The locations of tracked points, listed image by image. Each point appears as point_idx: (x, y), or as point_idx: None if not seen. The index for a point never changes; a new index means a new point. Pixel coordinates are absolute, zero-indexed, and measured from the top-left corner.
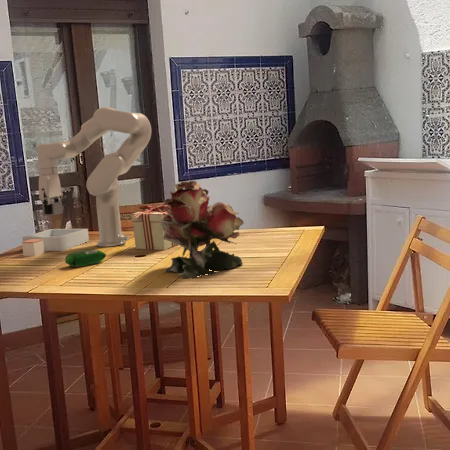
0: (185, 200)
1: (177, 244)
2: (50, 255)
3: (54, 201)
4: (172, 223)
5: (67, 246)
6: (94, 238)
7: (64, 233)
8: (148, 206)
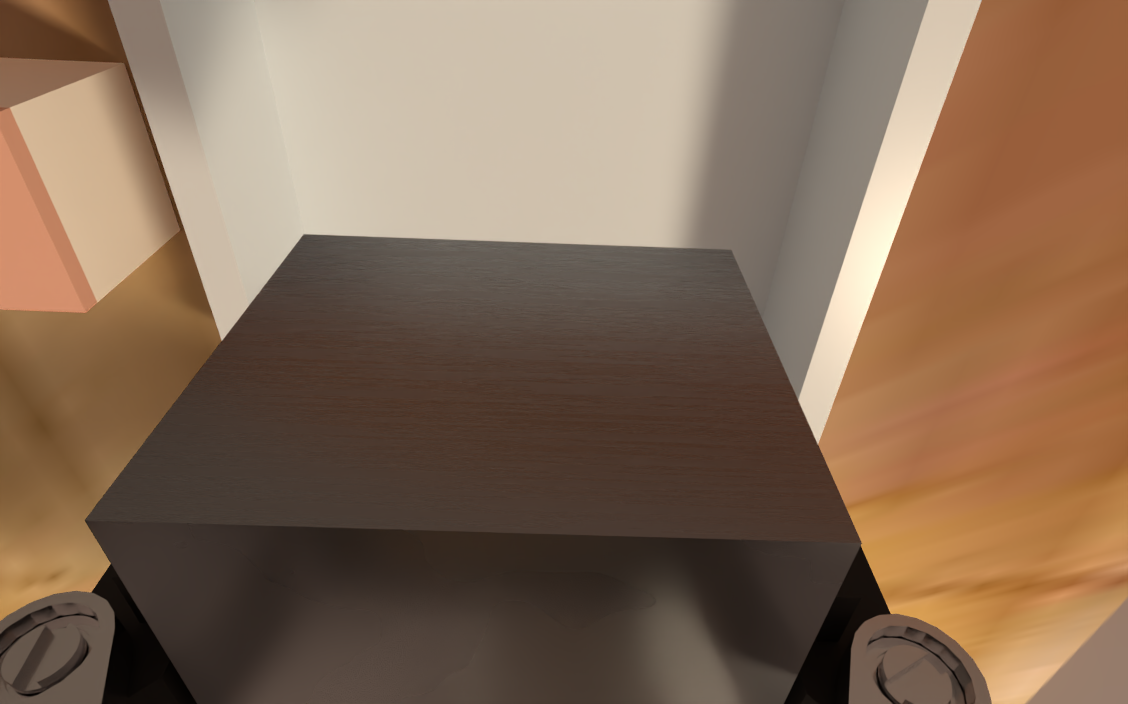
0: None
1: None
2: (123, 362)
3: (849, 677)
4: None
5: None
6: (979, 330)
7: (852, 130)
8: None
